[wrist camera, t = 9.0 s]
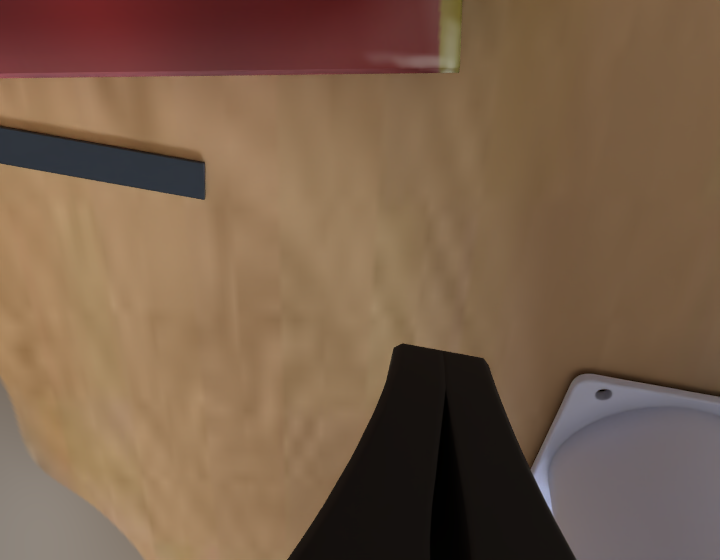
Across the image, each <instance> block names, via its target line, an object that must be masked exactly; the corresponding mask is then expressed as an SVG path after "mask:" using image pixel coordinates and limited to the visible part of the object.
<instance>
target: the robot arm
mask: <svg viewBox="0 0 720 560" xmlns="http://www.w3.org/2000/svg"><path fill="white" fill-rule="evenodd" d="M601 389H607V390H605V391H598V390H601ZM287 560H720V397H718V396H712V395H707V394H701V393H696V392H690V391H684V390H679V389H673V388H668V387H662V386H657V385H651V384H646V383H640V382H635V381H629V380H624V379H618V378H613V377H607V376H602V375H596V374H582V375H579V376H577V377H576V378H574V380H573V381H572V383H571V385H570V387H569V389H568V391H567V393H566V395H565V398H564V400H563V402H562V404H561V406H560V408H559V410H558V412H557V415H556V417H555V419H554V421H553V423H552V425H551V427H550V429H549V432H548V434H547V436H546V438H545V440H544V442H543V444H542V446H541V449H540V451H539V453H538V455H537V457H536V459H535V461H534V463H533V466H532V468H531V469H530V467H529V465H528V463H527V461H526V459H525V457H524V455H523V452H522V450H521V448H520V445H519V443H518V441H517V439H516V436H515V434H514V431H513V429H512V427H511V424H510V422H509V419H508V417H507V414H506V412H505V409H504V407H503V404H502V402H501V399H500V396H499V394H498V391H497V388H496V385H495V383H494V380H493V377H492V374H491V371H490V368H489V365H488V364H487V362H486V361H485V360H484V358H480V357H474V356H469V355H463V354H458V353H452V352H447V351H441V350H436V349H430V348H425V347H419V346H414V345H408V344H400V345H398V346H396V347H394V349H393V353H392V358H391V362H390V366H389V371H388V375H387V380H386V383H385V386H384V389H383V391H382V394H381V396H380V399H379V401H378V404H377V406H376V408H375V411H374V413H373V415H372V417H371V419H370V421H369V423H368V425H367V427H366V429H365V431H364V433H363V435H362V438H361V440H360V442H359V444H358V446H357V448H356V450H355V452H354V453H353V455H352V457H351V459H350V461H349V462H348V464H347V466H346V468H345V469H344V471H343V473H342V475H341V476H340V478H339V480H338V481H337V483H336V485H335V487H334V488H333V490H332V492H331V493H330V495H329V497H328V499H327V500H326V502H325V504H324V505H323V507H322V508H321V510H320V511H319V513H318V515H317V516H316V518H315V519H314V521H313V522H312V524H311V526H310V527H309V529H308V530H307V532H306V533H305V535H304V536H303V538H302V539H301V541H300V542H299V543H298V545H297V546H296V548H295V549H294V551H293V552H292V554H291V555H290V557H289V558H288V559H287Z"/></svg>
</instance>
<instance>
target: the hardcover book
mask: <svg viewBox="0 0 720 560" xmlns="http://www.w3.org/2000/svg"><path fill="white" fill-rule="evenodd" d="M461 23H462V0H0V78H55V77H139V76H222V75H305V74H388V73H459V71H460V49H461Z"/></svg>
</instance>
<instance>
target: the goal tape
mask: <svg viewBox="0 0 720 560" xmlns="http://www.w3.org/2000/svg"><path fill="white" fill-rule="evenodd" d="M0 163H1V164H6V165H12V166H17V167H23V168H29V169H34V170H40V171H45V172H51V173H57V174H62V175H68V176H73V177H79V178H85V179H90V180H96V181H102V182H107V183H113V184H118V185H124V186H130V187H135V188H141V189H146V190H152V191H158V192H163V193H169V194H174V195H180V196H186V197H191V198H197V199H202V200H204V199H205V163H204V162H199V161H193V160H188V159H182V158H176V157H171V156H165V155H159V154H154V153H148V152H143V151H137V150H131V149H126V148H120V147H114V146H109V145H103V144H97V143H92V142H86V141H81V140H75V139H69V138H64V137H58V136H52V135H47V134H41V133H36V132H30V131H24V130H19V129H13V128H7V127H2V126H0Z"/></svg>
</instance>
